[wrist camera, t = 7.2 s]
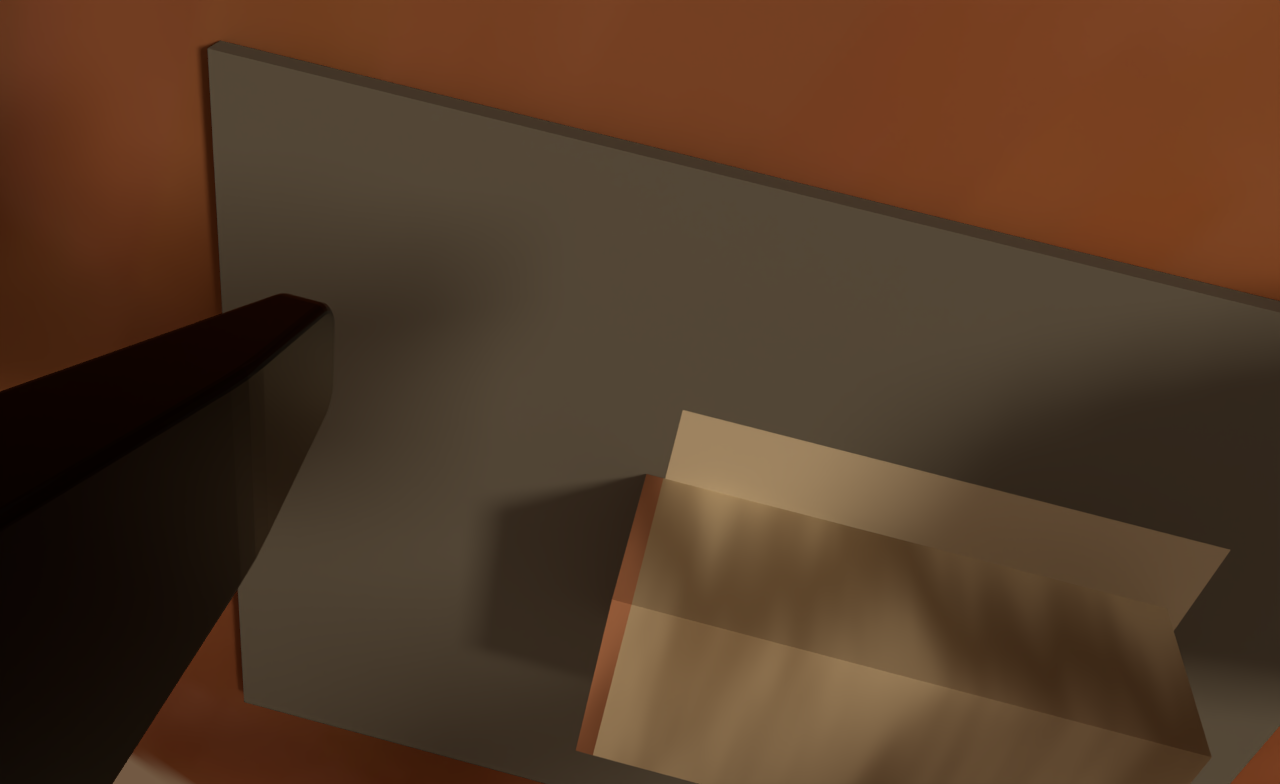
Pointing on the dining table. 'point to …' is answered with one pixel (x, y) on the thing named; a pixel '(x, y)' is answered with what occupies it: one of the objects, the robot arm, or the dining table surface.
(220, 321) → the robot arm
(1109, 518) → the flip mat
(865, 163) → the dining table surface
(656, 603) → the birch pillar
